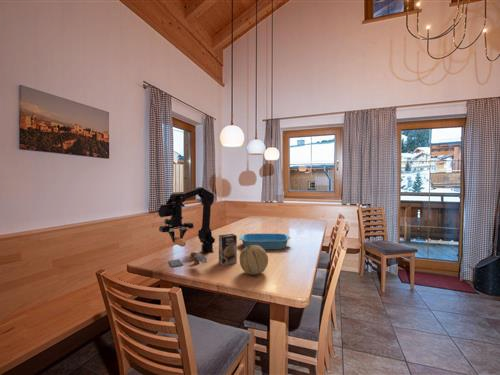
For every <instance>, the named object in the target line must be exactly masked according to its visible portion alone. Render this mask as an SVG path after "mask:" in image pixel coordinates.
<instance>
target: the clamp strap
mask: <svg viewBox="0 0 500 375" xmlns="http://www.w3.org/2000/svg"><path fill="white" fill-rule="evenodd" d="M196 258H197V259H198V260H199V263H201V264H207V263H208V259H207V257H206V256H205V255H204V254H202V252H198V253H196Z"/></svg>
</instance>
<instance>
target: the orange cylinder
mask: <svg viewBox="0 0 500 375" xmlns="http://www.w3.org/2000/svg"><path fill="white" fill-rule="evenodd" d="M173 244H175V245H176V246H179V247H181V248H183V247H185V246H186V244H187V240H186V239H183V238H182V239H181V238H180V236H174V243H173Z"/></svg>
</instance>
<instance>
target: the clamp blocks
mask: <svg viewBox="0 0 500 375" xmlns="http://www.w3.org/2000/svg"><path fill="white" fill-rule="evenodd" d="M196 254H197V253H196V252H195V251H193V252H190V261H192V262H193V264H194V265H199V264H200V261H199V260H198V259H197V258H196Z"/></svg>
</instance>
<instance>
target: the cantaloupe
mask: <svg viewBox="0 0 500 375" xmlns="http://www.w3.org/2000/svg"><path fill="white" fill-rule="evenodd" d="M268 263H269V256H268V254H267V252H266V249H263V248H262V247H261V246H258V245H250V246H249V245H248V247H246V248H245V247H244V248H243V249H242V250H241V252H240V254H239V265H240V268H241V269H242V270H243V271H244V272H245V274H248V275H252V276H254V275H259V274H261V273H263V272H264V271H265V270H266V269H267V267H268Z"/></svg>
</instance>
